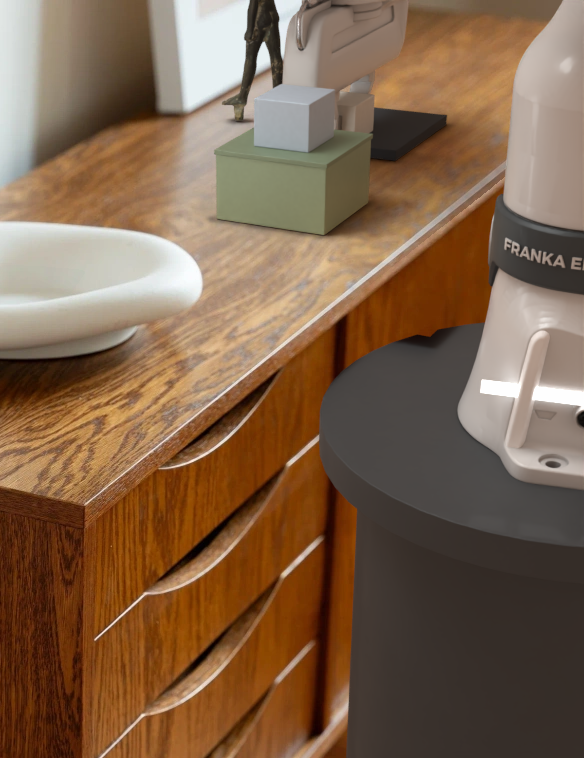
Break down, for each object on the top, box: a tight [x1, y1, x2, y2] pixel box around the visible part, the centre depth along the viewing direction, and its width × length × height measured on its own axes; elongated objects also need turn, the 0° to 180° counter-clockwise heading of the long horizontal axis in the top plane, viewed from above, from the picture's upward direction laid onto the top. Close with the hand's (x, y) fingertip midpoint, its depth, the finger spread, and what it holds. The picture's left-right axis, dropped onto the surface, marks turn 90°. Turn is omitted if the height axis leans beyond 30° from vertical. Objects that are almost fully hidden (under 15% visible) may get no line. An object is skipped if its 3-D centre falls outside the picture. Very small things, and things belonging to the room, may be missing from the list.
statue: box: [221, 0, 284, 122], centre depth 148 cm, size 5×6×20 cm
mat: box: [370, 106, 448, 162], centre depth 146 cm, size 11×13×1 cm
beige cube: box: [337, 90, 376, 133], centre depth 142 cm, size 4×4×4 cm
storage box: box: [213, 127, 373, 236], centre depth 126 cm, size 10×9×6 cm
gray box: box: [253, 84, 335, 153], centre depth 124 cm, size 5×5×4 cm
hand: (342, 127), depth 143 cm, fingers open, 5 cm apart
